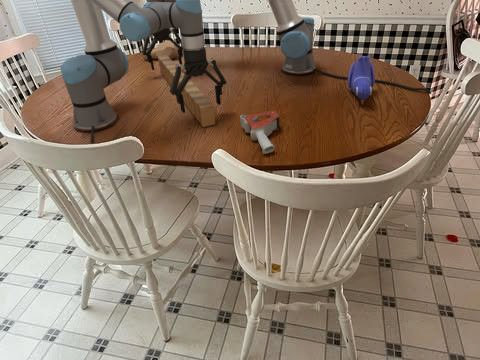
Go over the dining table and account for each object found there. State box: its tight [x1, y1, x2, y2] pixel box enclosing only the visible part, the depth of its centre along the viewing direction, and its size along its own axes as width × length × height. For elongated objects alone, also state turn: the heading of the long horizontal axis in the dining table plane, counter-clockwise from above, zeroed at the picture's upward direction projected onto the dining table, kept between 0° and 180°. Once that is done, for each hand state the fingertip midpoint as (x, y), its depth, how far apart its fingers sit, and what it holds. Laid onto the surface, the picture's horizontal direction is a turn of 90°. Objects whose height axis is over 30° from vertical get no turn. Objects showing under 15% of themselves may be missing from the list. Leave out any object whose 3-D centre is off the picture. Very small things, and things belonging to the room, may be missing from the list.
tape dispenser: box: [239, 110, 280, 155], centre depth 117 cm, size 18×5×20 cm
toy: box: [347, 55, 376, 106], centre depth 135 cm, size 10×17×25 cm
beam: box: [157, 55, 216, 128], centre depth 149 cm, size 67×5×7 cm, turn 23°
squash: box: [142, 39, 179, 61], centre depth 190 cm, size 11×20×9 cm, turn 92°
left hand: (201, 107), depth 129 cm, fingers open, 13 cm apart
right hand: (167, 66), depth 169 cm, fingers open, 13 cm apart
